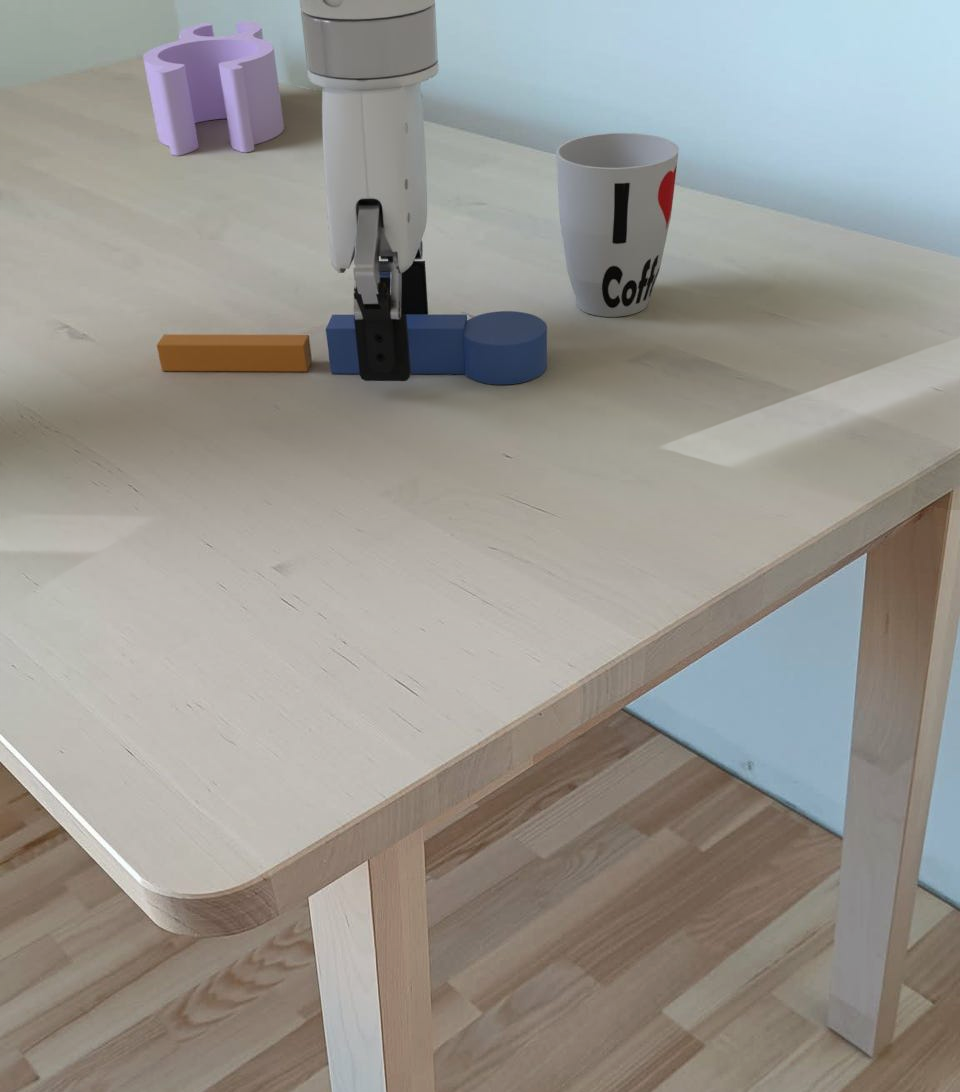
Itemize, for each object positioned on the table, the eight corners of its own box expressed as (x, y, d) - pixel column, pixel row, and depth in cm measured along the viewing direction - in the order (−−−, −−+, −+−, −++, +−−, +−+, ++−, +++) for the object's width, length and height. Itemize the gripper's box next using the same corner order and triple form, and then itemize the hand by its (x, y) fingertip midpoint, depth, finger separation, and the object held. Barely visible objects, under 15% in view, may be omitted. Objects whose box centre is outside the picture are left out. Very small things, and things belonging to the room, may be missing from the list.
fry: (161, 371, 86) (156, 344, 84) (168, 360, 87) (163, 333, 86) (307, 372, 85) (303, 345, 84) (312, 360, 86) (308, 334, 85)
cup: (601, 335, 87) (605, 176, 80) (533, 300, 92) (532, 148, 85) (692, 306, 90) (704, 151, 83) (621, 273, 95) (627, 125, 88)
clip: (178, 100, 136) (164, 24, 131) (294, 95, 136) (284, 19, 131) (146, 157, 122) (130, 74, 117) (276, 150, 121) (265, 67, 117)
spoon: (326, 384, 83) (320, 338, 81) (341, 349, 87) (336, 304, 85) (544, 385, 82) (544, 339, 80) (549, 349, 86) (549, 304, 84)
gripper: (333, 12, 79) (361, 299, 91) (273, 86, 66) (315, 407, 78) (453, 9, 78) (465, 299, 90) (416, 83, 65) (436, 408, 78)
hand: (395, 348), depth 84 cm, fingers open, 8 cm apart
